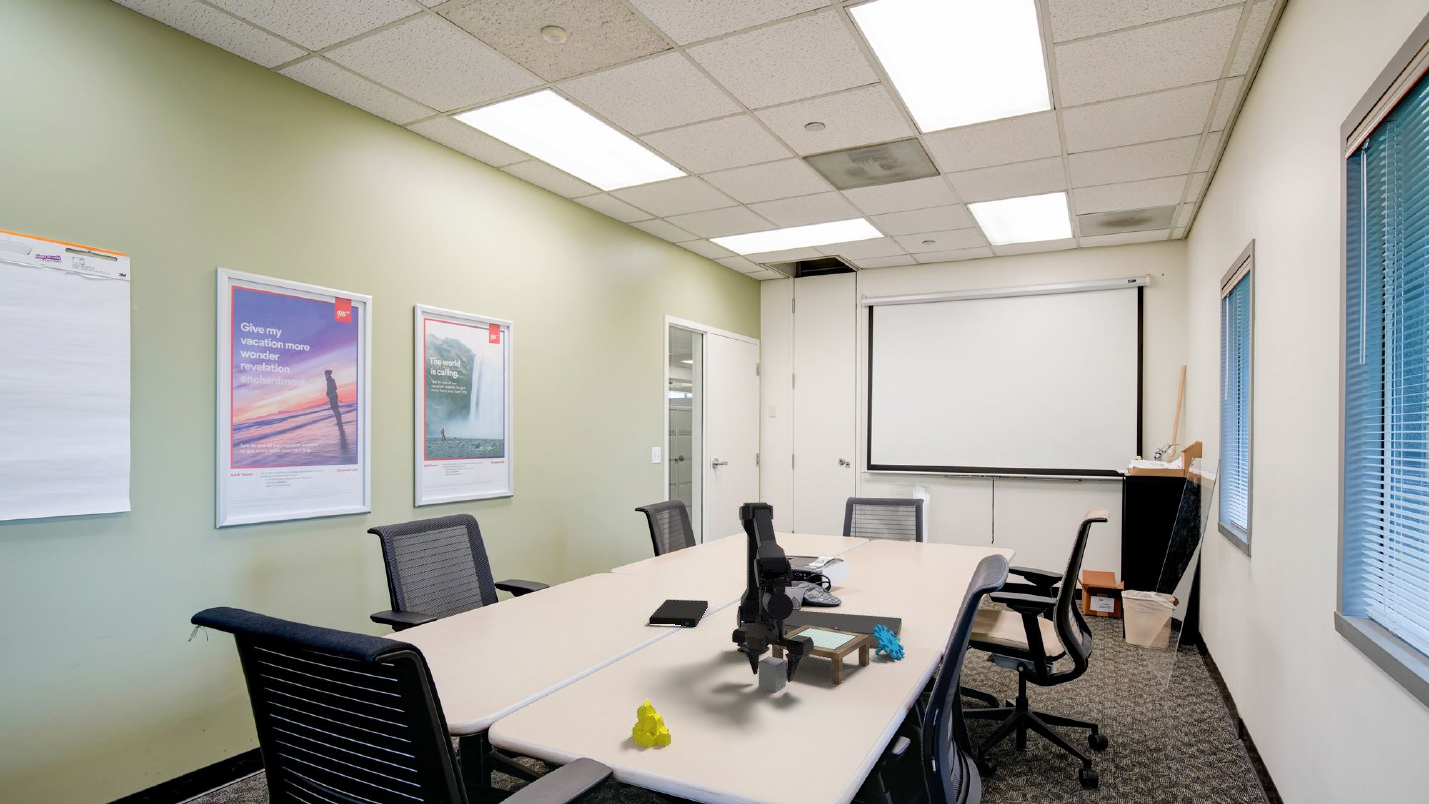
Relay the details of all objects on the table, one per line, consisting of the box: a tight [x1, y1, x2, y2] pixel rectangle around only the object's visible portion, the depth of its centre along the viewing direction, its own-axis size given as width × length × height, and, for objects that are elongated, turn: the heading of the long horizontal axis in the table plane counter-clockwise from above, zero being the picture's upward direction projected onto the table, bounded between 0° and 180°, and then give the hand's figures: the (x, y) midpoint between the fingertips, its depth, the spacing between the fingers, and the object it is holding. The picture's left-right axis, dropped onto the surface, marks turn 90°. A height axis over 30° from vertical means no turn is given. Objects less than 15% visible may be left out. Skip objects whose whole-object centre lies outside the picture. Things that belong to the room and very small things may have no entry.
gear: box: [873, 624, 906, 660], centre depth 183 cm, size 11×6×10 cm
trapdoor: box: [791, 628, 856, 650], centre depth 174 cm, size 13×13×1 cm
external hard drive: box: [648, 599, 709, 628], centre depth 223 cm, size 14×23×3 cm, turn 171°
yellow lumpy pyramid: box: [631, 697, 672, 749], centre depth 133 cm, size 6×8×8 cm
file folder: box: [784, 609, 903, 648], centre depth 204 cm, size 33×4×24 cm
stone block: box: [758, 656, 787, 693], centre depth 160 cm, size 4×4×6 cm
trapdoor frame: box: [771, 625, 870, 685], centre depth 174 cm, size 18×18×7 cm
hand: (772, 678), depth 160 cm, fingers open, 9 cm apart
